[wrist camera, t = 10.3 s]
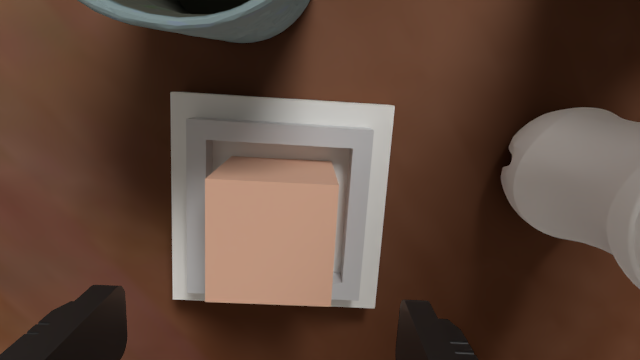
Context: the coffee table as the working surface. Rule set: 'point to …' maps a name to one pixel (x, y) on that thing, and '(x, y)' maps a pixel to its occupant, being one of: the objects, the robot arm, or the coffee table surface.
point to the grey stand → (284, 143)
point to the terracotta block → (270, 231)
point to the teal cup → (206, 16)
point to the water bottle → (580, 180)
